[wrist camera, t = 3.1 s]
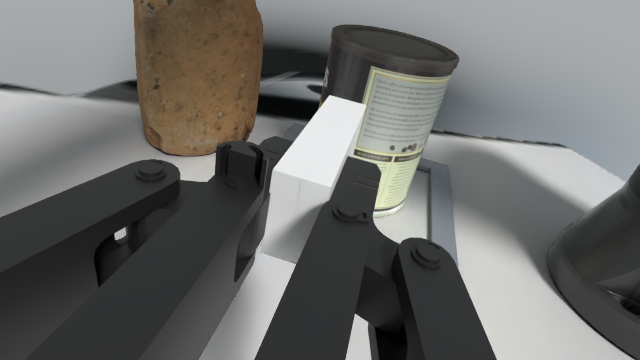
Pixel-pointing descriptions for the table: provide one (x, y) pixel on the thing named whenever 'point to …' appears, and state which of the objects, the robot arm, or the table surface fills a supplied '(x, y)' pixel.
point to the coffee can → (389, 99)
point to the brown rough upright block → (197, 72)
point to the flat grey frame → (439, 199)
